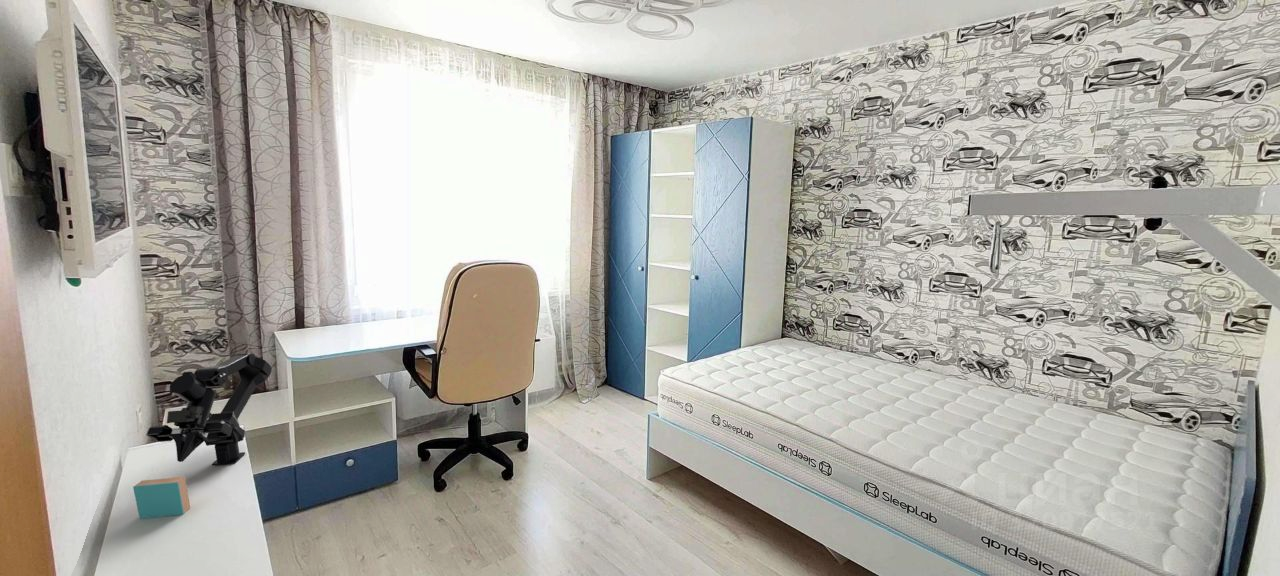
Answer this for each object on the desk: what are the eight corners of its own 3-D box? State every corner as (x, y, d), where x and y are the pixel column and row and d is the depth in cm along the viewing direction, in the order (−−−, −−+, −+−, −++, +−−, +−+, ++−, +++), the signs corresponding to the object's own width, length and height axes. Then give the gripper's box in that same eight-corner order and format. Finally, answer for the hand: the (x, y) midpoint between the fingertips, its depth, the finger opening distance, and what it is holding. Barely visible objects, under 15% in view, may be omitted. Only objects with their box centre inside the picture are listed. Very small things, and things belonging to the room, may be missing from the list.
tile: (147, 511, 141) (141, 480, 139) (190, 507, 143) (184, 476, 141) (139, 518, 138) (133, 486, 136) (183, 514, 140) (177, 482, 138)
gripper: (144, 399, 147) (121, 455, 139) (220, 393, 150) (201, 448, 142) (169, 414, 156) (148, 468, 148) (239, 409, 159) (223, 461, 151)
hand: (180, 461), depth 147 cm, fingers closed
